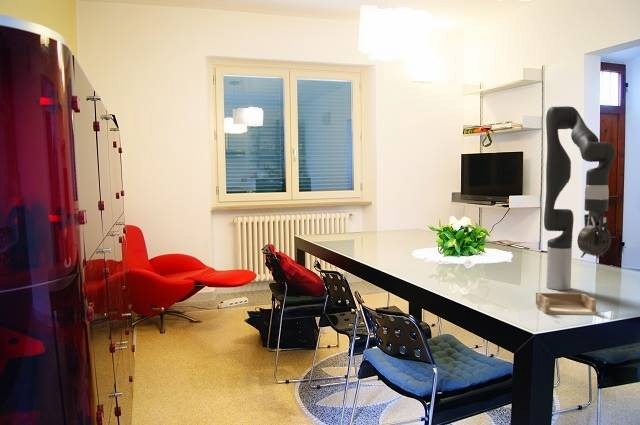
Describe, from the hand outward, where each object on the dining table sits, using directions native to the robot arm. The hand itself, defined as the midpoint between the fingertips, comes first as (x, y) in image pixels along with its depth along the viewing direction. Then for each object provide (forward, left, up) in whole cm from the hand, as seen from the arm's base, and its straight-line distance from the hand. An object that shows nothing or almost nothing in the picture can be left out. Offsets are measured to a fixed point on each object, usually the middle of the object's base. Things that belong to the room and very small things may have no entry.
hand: (595, 244), depth 183 cm
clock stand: (+9, -14, -22) cm, 28 cm away
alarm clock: (0, 0, -5) cm, 5 cm away
